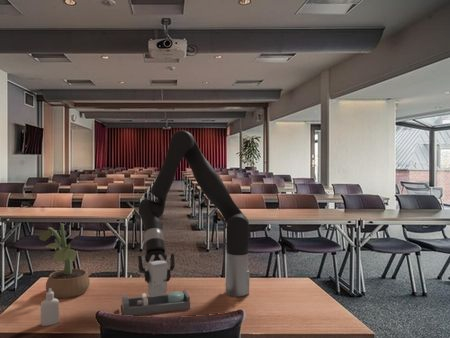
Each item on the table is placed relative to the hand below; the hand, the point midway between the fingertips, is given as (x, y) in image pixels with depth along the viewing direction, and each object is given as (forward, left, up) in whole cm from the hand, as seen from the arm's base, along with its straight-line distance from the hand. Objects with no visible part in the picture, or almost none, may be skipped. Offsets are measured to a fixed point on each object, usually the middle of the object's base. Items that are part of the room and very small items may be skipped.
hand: (158, 281), depth 142 cm
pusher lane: (+1, -1, -11) cm, 11 cm away
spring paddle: (+6, -1, -10) cm, 12 cm away
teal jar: (-7, -1, -10) cm, 12 cm away
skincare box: (0, -2, -6) cm, 6 cm away
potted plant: (+34, -26, -11) cm, 44 cm away
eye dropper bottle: (+37, +1, -11) cm, 38 cm away
